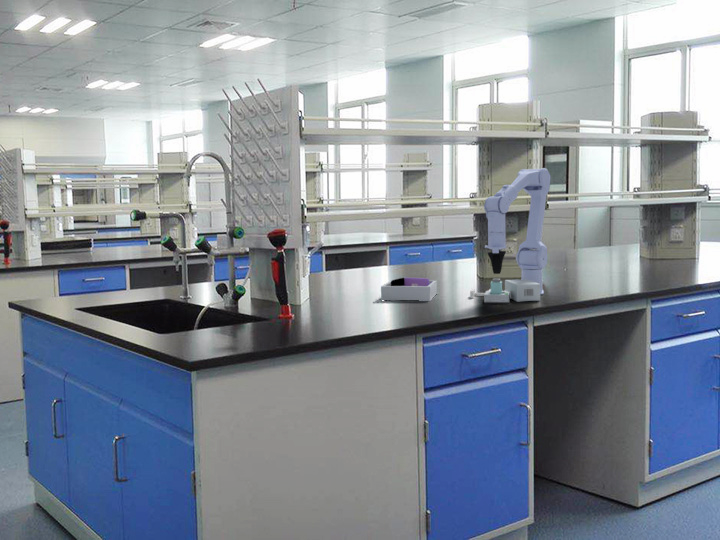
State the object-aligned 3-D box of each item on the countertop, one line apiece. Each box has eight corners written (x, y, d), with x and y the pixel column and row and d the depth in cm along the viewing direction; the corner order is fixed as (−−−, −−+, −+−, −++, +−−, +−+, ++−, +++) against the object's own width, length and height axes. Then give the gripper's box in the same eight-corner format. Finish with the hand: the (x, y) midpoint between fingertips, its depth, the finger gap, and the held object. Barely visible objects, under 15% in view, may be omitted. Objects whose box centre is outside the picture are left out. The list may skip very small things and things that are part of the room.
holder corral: (390, 294, 279) (390, 280, 279) (436, 294, 275) (436, 280, 275) (381, 300, 263) (380, 286, 262) (430, 301, 259) (429, 286, 258)
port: (486, 298, 261) (486, 289, 260) (510, 298, 259) (510, 289, 259) (484, 303, 251) (484, 293, 251) (508, 303, 249) (508, 293, 249)
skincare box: (540, 301, 252) (527, 295, 267) (540, 282, 252) (527, 278, 267) (515, 301, 252) (504, 296, 267) (515, 283, 251) (504, 279, 266)
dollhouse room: (402, 295, 277) (402, 276, 276) (432, 297, 271) (432, 277, 270) (386, 300, 267) (386, 280, 266) (417, 301, 261) (417, 281, 260)
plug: (491, 298, 257) (491, 278, 257) (502, 299, 256) (502, 278, 256) (490, 300, 254) (490, 279, 253) (501, 300, 253) (501, 279, 252)
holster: (472, 295, 269) (471, 288, 269) (492, 295, 267) (492, 288, 267) (470, 298, 263) (470, 291, 263) (491, 298, 261) (491, 291, 261)
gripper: (486, 231, 261) (486, 270, 262) (482, 233, 247) (483, 275, 248) (507, 231, 259) (507, 270, 260) (505, 233, 245) (505, 275, 246)
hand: (497, 273), depth 254 cm, fingers open, 3 cm apart
